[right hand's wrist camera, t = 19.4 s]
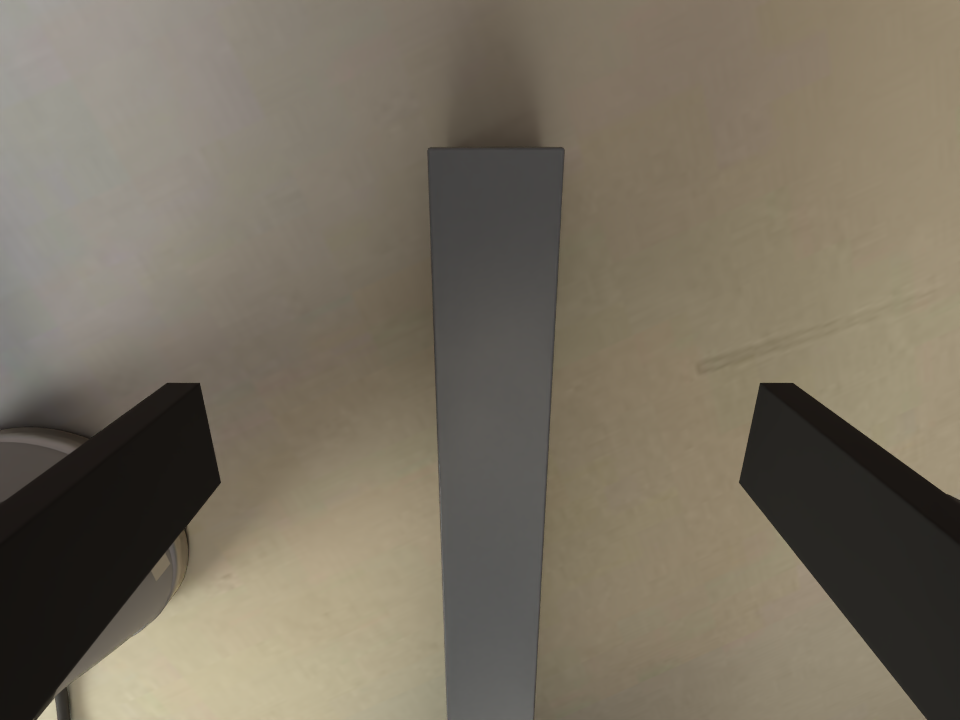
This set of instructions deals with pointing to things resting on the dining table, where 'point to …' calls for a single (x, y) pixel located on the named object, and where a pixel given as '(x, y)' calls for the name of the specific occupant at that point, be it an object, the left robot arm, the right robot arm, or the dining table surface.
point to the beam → (493, 411)
